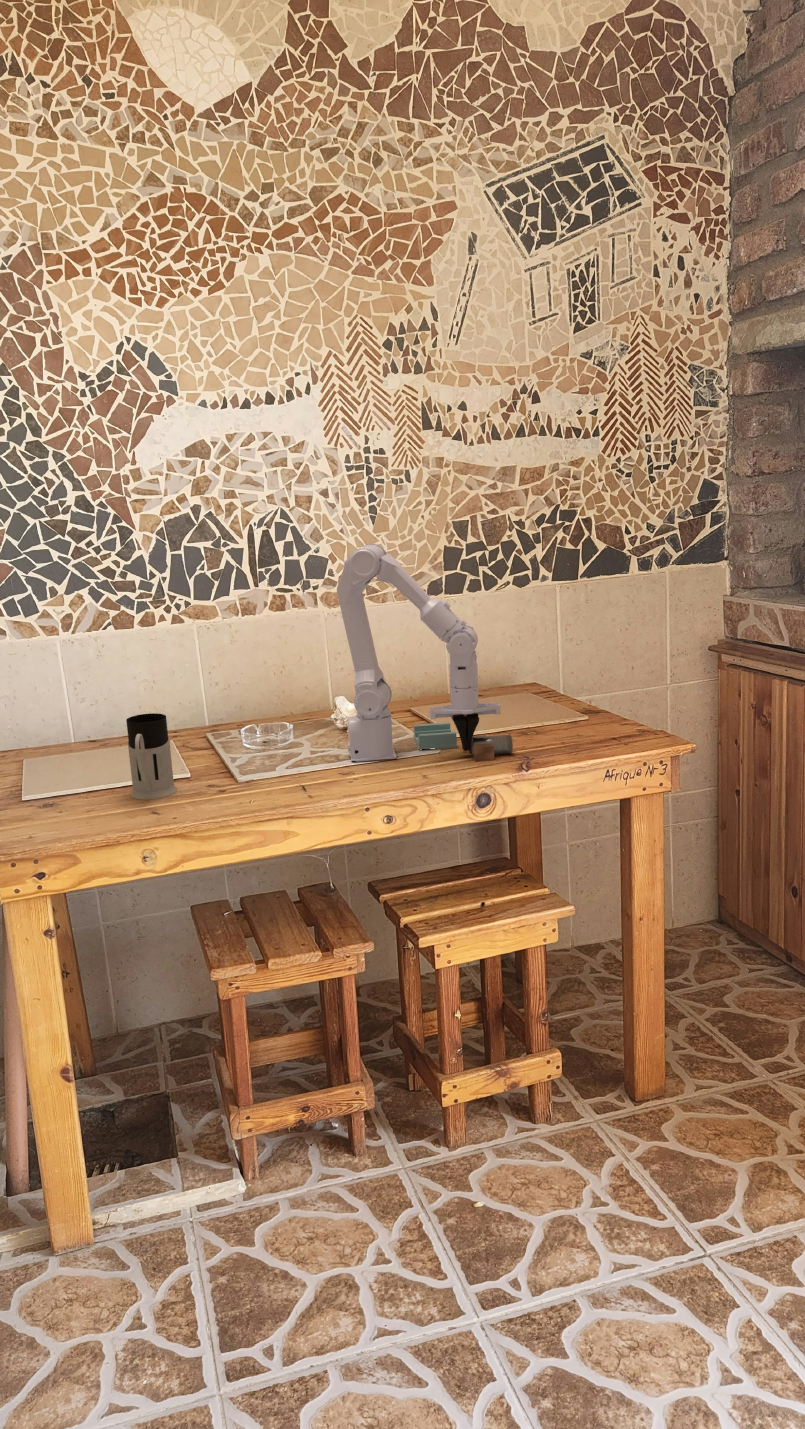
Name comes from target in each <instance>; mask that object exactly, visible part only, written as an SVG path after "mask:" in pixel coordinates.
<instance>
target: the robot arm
mask: <svg viewBox="0 0 805 1429" xmlns="http://www.w3.org/2000/svg"><path fill="white" fill-rule="evenodd" d="M375 577H376V578H375ZM374 578H375V581H376V582H381V583H385V584H386V583H387V584H391V585H393V587H395V588H396V589H397V590H398V591H399V592H400V593H401V594H402V595H403V596H405V597H406V598H407V600H409V601H410V603H411V604H413V605H414V606H415V607H416V608H417V609H418V610H419V611H420V612H419V613H420V615H419V617H420V620H421V622H422V623H424V624H425V625H426V627H427V628H428V629H429V630H431V632H432V633H433V634H434V635H435V636H436V637H437V638H438V639H439V640H440V641H441V642H444V643H446V644H445V646H446V651H447V653H448V654H449V664H448V665H449V666H448V668H449V687H450V688H449V689H450V691H449V692H450V693H449V694H450V704H449V705H443V706H437V707H429V708H428V709H429V718H430V720H435V719H441V718H451V719H452V722H453V723H454V725H455V728H456V730H457V733H458V735H459V738H460V742H461V746H462V750H463V752H469V751H470V747H471V741H472V737H473V736H474V733H475V731H476V729H477V727H478V725H479V723H480V717H479V716H481V715H501V704H500V703H499V702H497V703H493V702H492V703H485V702H484V703H483V702H482V703H479V677H478V662H477V659H478V656H477V651H476V648H477V646H478V643H479V642H478V641H479V638H478V634H477V632H476V631H475V629H474V627H473V626H471V625H467V621H466V620H465V619H463V620H461V619H460V618H459V617H458V616H457V614H455V612H454V611H453V610H452V609H450V607H452V606H451V604H450V603H449V602H448V601H445V602H444V601H443V600H441V599H439V598H437V599H434V598H431V597H430V596H429V595H428V593H427V592H426V591H425V590H424V588H422V587H421V585H420V584H419V583H418V582H417V581H416V580H415V579H414V578H413V577H412V576H411V574H410V573H408V572H407V570H406V568H404V567H403V566H402V565H401V564H400V563H399V562H398V560H397V559H396V558H395V557H394V556H393V555H391V554H390V553H389V552H388V553H387V551H386V549H384V547H383V546H381V545H379V544H378V543H377V544H376V543H369V544H366V545H363V546H362V547H358V548H356V549H355V550H353V551H352V553H350V555H349V556H348V557H347V559H345V561H344V564H343V569H342V572H341V575H340V577H339V581H338V583H337V587H336V594H337V599H338V602H339V608H340V611H341V616H342V619H343V625H344V629H345V633H346V638H347V639H346V640H347V642H348V646H349V651H350V654H351V660H352V664H353V668H354V669H353V670H354V672H355V674H354V675H355V676H354V684H353V685H354V690H355V695H354V698H353V706H354V709H355V710H356V715H353V716H348V717H347V734H348V743H347V751H348V753H349V757H351V758H350V761H351V762H352V761H356V762H367V761H380V760H381V761H383V760H393V759H397V756H398V755H397V753H396V752H395V751H396V750H395V748H394V746H393V745H394V744H393V743H394V742H393V724H392V723H393V722H392V711H391V709H390V708H389V706H388V704H390V702H391V700H392V697H393V696H392V695H393V694H392V692H393V691H392V688H391V687H390V685H389V683H388V682H387V681H386V679H385V677H384V676H385V675H384V672H383V671H382V670H381V668H380V666H379V662H378V658H377V652H376V649H375V648H376V647H375V644H374V640H373V635H372V631H371V627H370V622H369V618H368V614H367V608H366V603H365V599H364V594H363V593H364V591H365V590H366V589H367V587H368V586H369V584H370V583H371V582H372V580H373V579H374Z"/></svg>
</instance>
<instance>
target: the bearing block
mask: <svg viewBox="0 0 805 1429" xmlns="http://www.w3.org/2000/svg"><path fill="white" fill-rule="evenodd" d="M481 736H487V735H486V734H485V735H473V737H481ZM468 753H469V754H472V748H471V747H470V751H468ZM472 756H473V758H472V759H473V760H474V762H486V761H487V762H488V761H495V755H494V745H493V744H479V745H473V754H472Z"/></svg>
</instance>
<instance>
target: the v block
mask: <svg viewBox="0 0 805 1429" xmlns="http://www.w3.org/2000/svg"><path fill="white" fill-rule="evenodd" d="M414 738H415V739H414ZM413 739H414V741H415V743H417V744H416V745H418V746H419V748H418V750H419V749H430V748H435V749H434V750H445V749H457V748H458V744H457V740H458V739H457V732H456V731H452V729H451V722H450V721H449V722H434V723H420V724H413ZM418 746H417V747H418Z"/></svg>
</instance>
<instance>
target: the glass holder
mask: <svg viewBox="0 0 805 1429" xmlns="http://www.w3.org/2000/svg"><path fill="white" fill-rule="evenodd" d="M126 728H127V729H126V731H127V739H128V742H127V748H128V757H129V758H128V759H129V766H130V775H131V783H132V791H131V794H130V796H131V797H132V798H133V799H135V800H136V799H137V800H146V801H147V800H149V801H150V800H159V799H164V798H167V797H169V796H172V795H174V794H176V793H177V792H178V790H177V787H176V786H175V783H174V770H173V762H172V751H171V743H170V737H169V733H168V722H167V715H166V714H164V713H155V712H154V713H151V712H150V713H143V714H136V715H132V716H130V717H129V716H128V718H126Z"/></svg>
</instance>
